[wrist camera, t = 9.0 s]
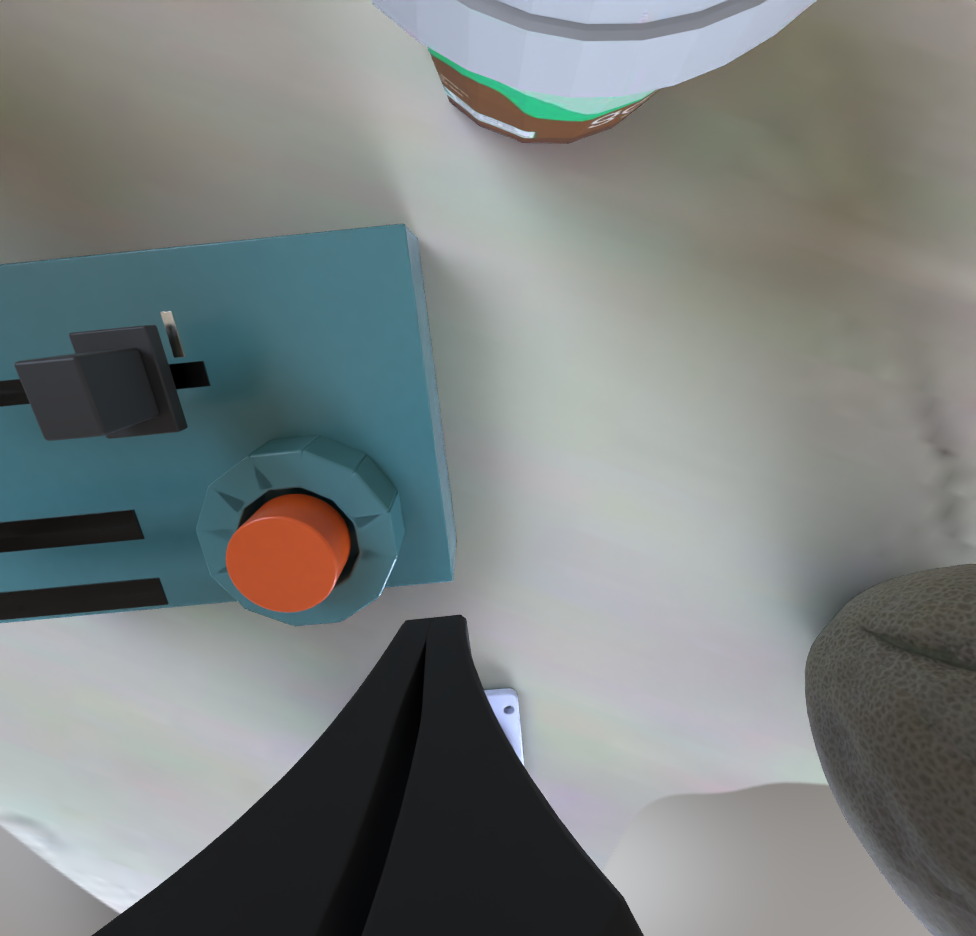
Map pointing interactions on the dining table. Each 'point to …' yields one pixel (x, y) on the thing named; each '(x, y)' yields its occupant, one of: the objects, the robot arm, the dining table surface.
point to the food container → (578, 54)
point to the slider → (104, 387)
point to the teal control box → (240, 414)
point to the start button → (289, 553)
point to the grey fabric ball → (905, 735)
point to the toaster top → (86, 528)
